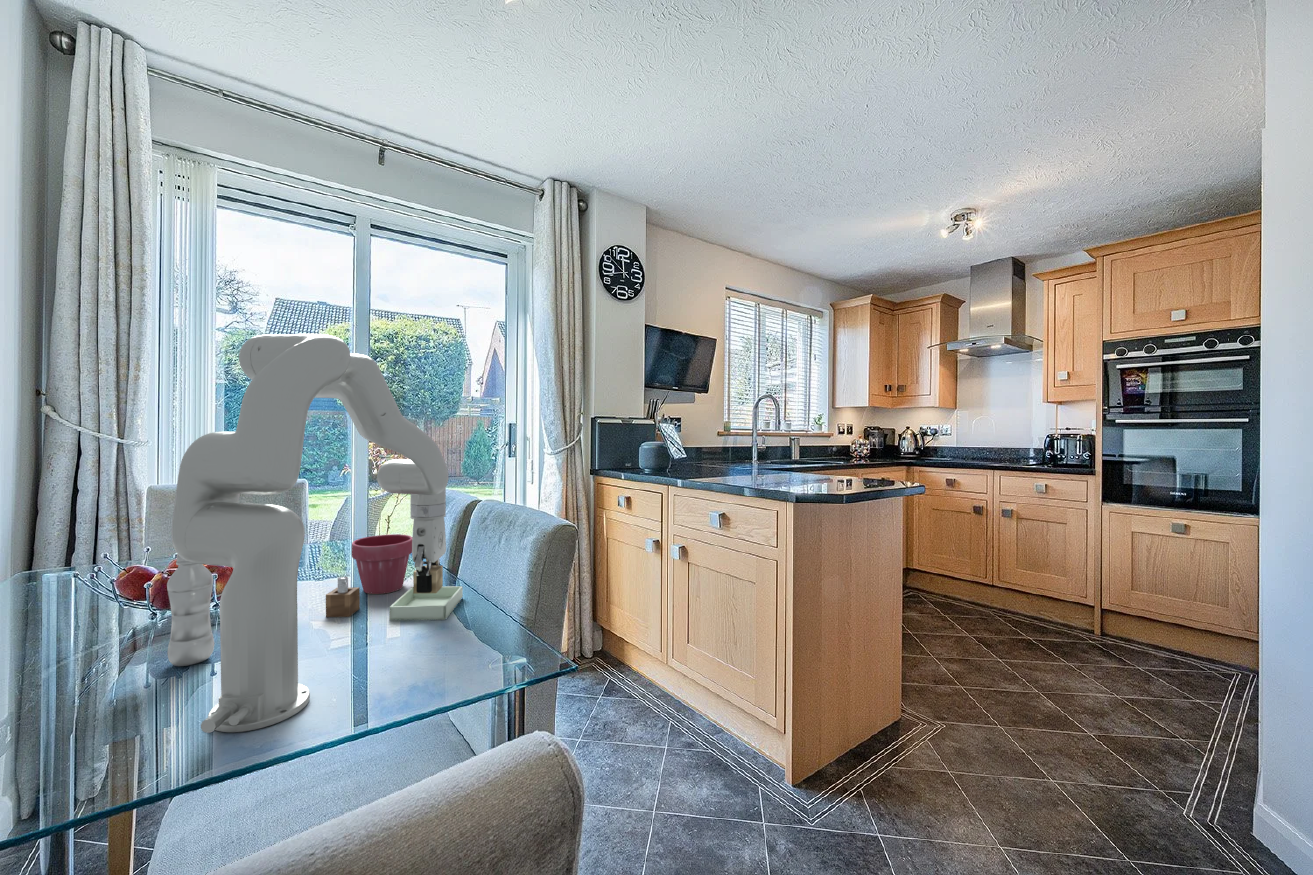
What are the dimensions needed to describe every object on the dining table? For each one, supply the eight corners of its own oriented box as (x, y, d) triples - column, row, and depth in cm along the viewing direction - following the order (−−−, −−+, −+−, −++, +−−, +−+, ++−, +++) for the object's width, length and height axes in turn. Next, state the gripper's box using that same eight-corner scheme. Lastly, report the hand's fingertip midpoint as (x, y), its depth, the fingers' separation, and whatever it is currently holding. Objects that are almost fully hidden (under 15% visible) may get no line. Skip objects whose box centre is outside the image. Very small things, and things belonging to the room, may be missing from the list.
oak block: (436, 593, 125) (436, 571, 125) (413, 593, 125) (413, 571, 125) (442, 586, 130) (442, 565, 130) (421, 586, 130) (420, 565, 129)
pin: (345, 614, 123) (344, 579, 123) (336, 614, 123) (335, 579, 123) (349, 611, 125) (349, 576, 125) (340, 611, 125) (340, 576, 125)
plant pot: (363, 581, 147) (363, 533, 146) (418, 579, 149) (419, 532, 149) (342, 599, 133) (342, 547, 132) (404, 596, 135) (404, 545, 135)
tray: (445, 619, 121) (445, 606, 121) (389, 620, 120) (389, 606, 120) (462, 598, 135) (462, 586, 135) (412, 598, 134) (412, 586, 134)
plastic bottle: (158, 672, 95) (156, 558, 94) (181, 655, 101) (179, 548, 100) (202, 668, 96) (201, 556, 96) (222, 652, 103) (220, 547, 102)
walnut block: (349, 616, 122) (349, 594, 121) (325, 616, 121) (325, 594, 121) (359, 608, 127) (359, 587, 126) (337, 608, 126) (336, 587, 126)
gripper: (433, 518, 118) (433, 600, 119) (455, 504, 135) (455, 576, 136) (397, 517, 118) (397, 601, 119) (423, 504, 135) (424, 577, 136)
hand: (428, 587), depth 127 cm, fingers closed on oak block, 5 cm apart
